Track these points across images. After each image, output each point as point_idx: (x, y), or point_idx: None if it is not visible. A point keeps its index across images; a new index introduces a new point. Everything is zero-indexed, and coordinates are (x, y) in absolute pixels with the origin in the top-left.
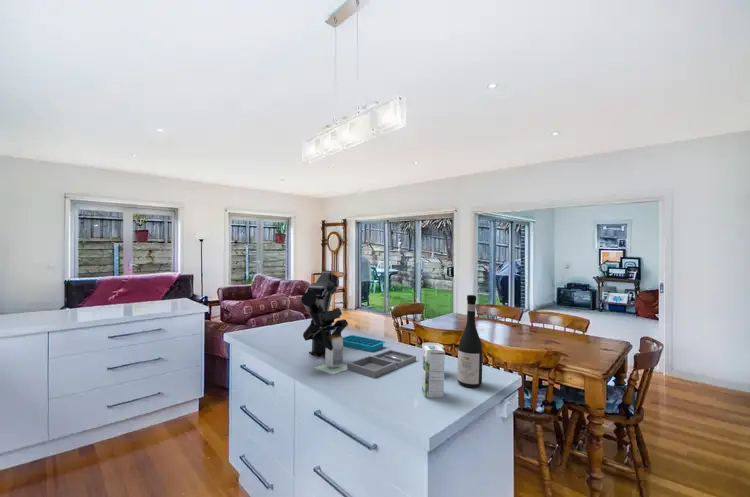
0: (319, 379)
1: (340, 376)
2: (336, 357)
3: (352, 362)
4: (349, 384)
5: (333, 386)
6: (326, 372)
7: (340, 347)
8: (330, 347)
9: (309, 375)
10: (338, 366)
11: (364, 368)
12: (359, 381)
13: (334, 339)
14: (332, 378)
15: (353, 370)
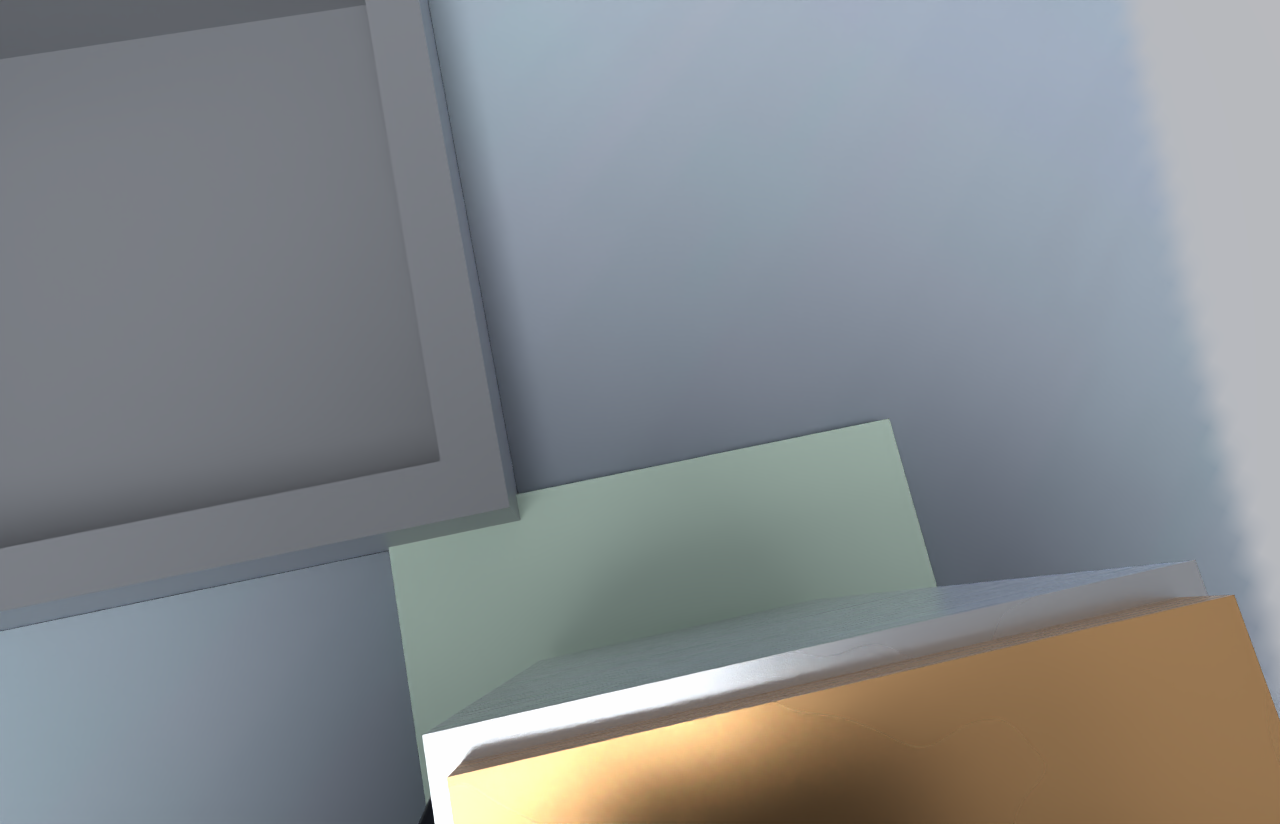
0: (1152, 400)
1: (799, 321)
2: (747, 622)
3: (395, 470)
4: (849, 5)
5: (1076, 69)
6: None
7: (615, 665)
8: None
9: None
10: None
11: (432, 70)
12: (666, 9)
13: (1103, 620)
14: (952, 321)
15: (492, 360)
